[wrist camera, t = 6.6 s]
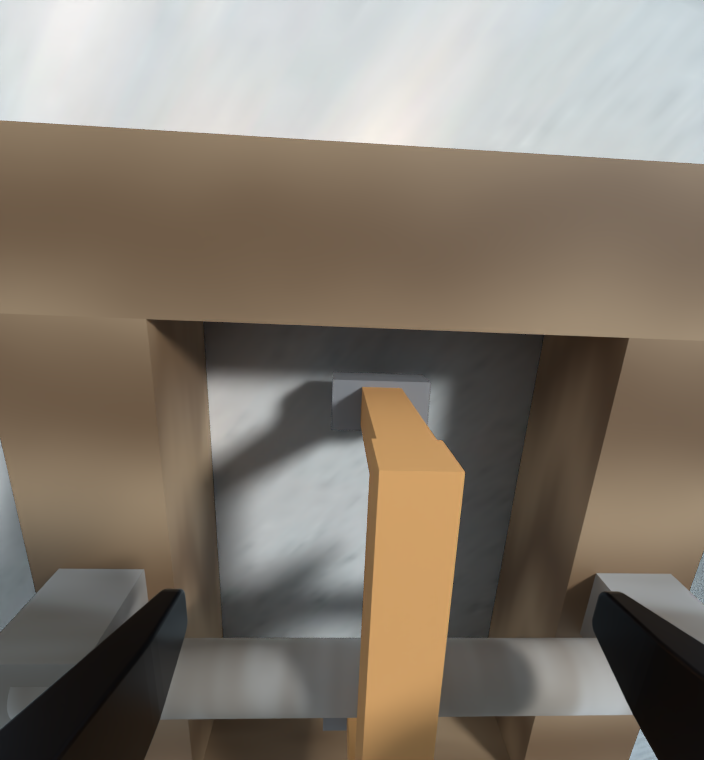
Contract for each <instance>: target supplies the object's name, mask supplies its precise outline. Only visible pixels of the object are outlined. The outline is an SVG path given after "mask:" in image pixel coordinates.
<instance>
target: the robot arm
mask: <svg viewBox="0 0 704 760" xmlns="http://www.w3.org/2000/svg"><path fill="white" fill-rule="evenodd" d="M187 623H188V617H187V607H186V596H185V592H184V590H183V589H163V590H162V591H160V592H159V593H158V594H157V595H155V596H154V597H153V598H152V599H151V600H150V601H148V602H147V603H146V604H145V605H144V606H143V607H141V608H140V609H139V610H138V611H137V612H136V613H134V614H133V615H132V616H131V617H130V618H129V619H127V620H126V621H125V622H124V623H123V624H122V625H121V626H119V627H118V628H117V629H116V630H115V631H114V632H112V633H111V634H110V635H109V636H108V637H107V638H105V639H104V640H103V641H102V642H101V643H100V644H98V645H97V646H96V647H95V648H94V649H93V650H91V651H90V652H89V653H88V654H87V655H86V656H85V657H83V658H82V659H81V660H80V661H79V662H78V663H76V664H75V665H74V666H73V667H72V668H71V669H69V670H68V671H67V672H66V673H65V674H64V675H62V676H61V677H60V678H59V679H58V680H57V681H55V682H54V683H53V684H52V685H51V686H50V687H49V688H47V689H46V690H45V691H44V692H43V693H42V694H40V695H39V696H38V697H37V698H36V699H35V700H33V701H32V702H31V703H30V704H29V705H28V706H26V707H25V708H24V709H23V710H22V711H21V712H20V713H18V714H17V715H16V716H15V717H14V718H13V719H11V720H10V721H9V722H8V723H7V724H6V725H4V726H3V727H2V728H1V729H0V760H144V759H145V757H146V754H147V752H148V749H149V747H150V744H151V742H152V739H153V737H154V734H155V731H156V729H157V726H158V723H159V720H160V718H161V714H162V711H163V708H164V705H165V702H166V698H167V695H168V691H169V688H170V685H171V681H172V678H173V674H174V671H175V668H176V664H177V661H178V657H179V654H180V651H181V647H182V644H183V640H184V637H185V634H186V629H187ZM592 627H593V631H594V634H595V636H596V638H597V640H598V642H599V644H600V647H601V649H602V651H603V653H604V655H605V657H606V659H607V661H608V664H609V666H610V668H611V670H612V672H613V674H614V676H615V678H616V681H617V683H618V685H619V687H620V689H621V691H622V693H623V696H624V698H625V700H626V702H627V704H628V706H629V708H630V710H631V712H632V714H633V716H634V718H635V719H636V721H637V723H638V725H639V727H640V729H641V730H642V732H643V734H644V736H645V737H646V739H647V741H648V743H649V745H650V746H651V748H652V750H653V752H654V753H655V755H656V757H657V759H658V760H704V644H703V643H701V642H700V641H698V640H697V639H695V638H693V637H692V636H690V635H689V634H687V633H686V632H684V631H682V630H681V629H679V628H678V627H676V626H675V625H673V624H671V623H670V622H668V621H667V620H665V619H664V618H662V617H660V616H659V615H657V614H656V613H654V612H653V611H651V610H649V609H648V608H646V607H645V606H643V605H642V604H640V603H638V602H637V601H635V600H634V599H632V598H630V597H629V596H627V595H626V594H624V593H622V592H618V591H603V592H601V593H600V594H599V596H598V599H597V603H596V606H595V610H594V613H593V617H592Z"/></svg>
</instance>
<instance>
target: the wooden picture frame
mask: <svg viewBox="0 0 704 760" xmlns="http://www.w3.org/2000/svg"><path fill="white" fill-rule="evenodd" d="M203 321H208V322H234V323H260V324H285V325H311V326H336V327H362V328H388V329H413V330H439V331H464V332H490V333H516V334H541V335H544V338H543V344H542V349H541V355H540V360H539V365H538V371H537V376H536V382H535V387H534V392H533V398H532V403H531V408H530V414H529V419H528V425H527V430H526V435H525V441H524V446H523V452H522V457H521V462H520V468H519V473H518V479H517V484H516V489H515V495H514V500H513V506H512V511H511V516H510V522H509V527H508V532H507V538H506V543H505V549H504V554H503V559H502V565H501V570H500V576H499V581H498V586H497V592H496V597H495V603H494V608H493V613H492V619H491V624H490V630H489V635H488V638H447V642H446V651H445V660H444V669H443V678H442V687H441V696H440V705H439V715H438V724H437V733H436V742H435V751H434V760H629V758H630V755H631V752H632V749H633V746H634V744H635V741H636V738H637V735H638V733H639V730H640V727H639V725H638V723H637V721H636V719H635V718H634V716H633V714H632V712H631V710H630V708H629V706H628V704H627V702H626V700H625V698H624V696H623V693H622V691H621V689H620V687H619V685H618V683H617V681H616V678H615V676H614V674H613V672H612V670H611V668H610V666H609V664H608V661H607V659H606V657H605V655H604V653H603V651H602V649H601V647H600V644H599V642H598V640H597V638H596V636H595V634H594V631H593V627H592V617H593V613H594V610H595V606H596V603H597V599H598V596H599V594H600V593H601V592H603V591H618V592H622V593H624V594H626V595H627V596H629V597H630V598H632V599H634V600H635V601H637V602H638V603H640V604H642V605H643V606H645V607H646V608H648V609H649V610H651V611H653V612H654V613H656V614H657V615H659V616H660V617H662V618H664V619H665V620H667V621H668V622H670V623H671V624H673V625H675V626H676V627H678V628H679V629H681V630H682V631H684V632H686V633H687V634H689V635H690V636H692V637H693V638H695V639H697V640H698V641H700V642H701V643H703V644H704V604H703V603H702V602H701V601H700V600H699V599H698V598H696V597H695V596H694V595H693V594H692V593H691V592H690V591H689V590H690V588H691V585H692V582H693V579H694V576H695V574H696V571H697V568H698V565H699V562H700V560H701V557H702V554H703V551H704V164H692V163H676V162H659V161H643V160H627V159H611V158H595V157H579V156H563V155H547V154H531V153H515V152H499V151H483V150H466V149H450V148H434V147H418V146H402V145H386V144H370V143H354V142H338V141H322V140H306V139H290V138H273V137H257V136H241V135H225V134H209V133H193V132H177V131H161V130H145V129H129V128H113V127H96V126H80V125H64V124H48V123H32V122H16V121H0V439H1V443H2V448H3V452H4V456H5V461H6V465H7V469H8V474H9V478H10V483H11V487H12V491H13V496H14V500H15V504H16V509H17V513H18V517H19V522H20V526H21V530H22V535H23V539H24V544H25V548H26V552H27V557H28V561H29V565H30V570H31V574H32V578H33V583H34V587H35V592H36V594H35V595H34V596H33V597H32V599H31V600H30V601H29V602H28V603H27V604H26V605H25V606H24V607H23V608H22V609H21V611H20V612H19V613H18V614H17V615H16V616H15V617H14V618H13V619H12V620H11V621H10V622H9V624H8V625H7V626H6V627H5V628H4V629H3V630H2V631H1V632H0V729H1V728H2V727H3V726H4V725H6V724H7V723H8V722H9V721H10V720H11V719H13V718H14V717H15V716H16V715H17V714H18V713H20V712H21V711H22V710H23V709H24V708H25V707H26V706H28V705H29V704H30V703H31V702H32V701H33V700H35V699H36V698H37V697H38V696H39V695H40V694H42V693H43V692H44V691H45V690H46V689H47V688H49V687H50V686H51V685H52V684H53V683H54V682H55V681H57V680H58V679H59V678H60V677H61V676H62V675H64V674H65V673H66V672H67V671H68V670H69V669H71V668H72V667H73V666H74V665H75V664H76V663H78V662H79V661H80V660H81V659H82V658H83V657H85V656H86V655H87V654H88V653H89V652H90V651H91V650H93V649H94V648H95V647H96V646H97V645H98V644H100V643H101V642H102V641H103V640H104V639H105V638H107V637H108V636H109V635H110V634H111V633H112V632H114V631H115V630H116V629H117V628H118V627H119V626H121V625H122V624H123V623H124V622H125V621H126V620H127V619H129V618H130V617H131V616H132V615H133V614H134V613H136V612H137V611H138V610H139V609H140V608H141V607H143V606H144V605H145V604H146V603H147V602H148V601H150V600H151V599H152V598H153V597H154V596H155V595H157V594H158V593H159V592H160V591H162V590H163V589H183V590H184V592H185V596H186V607H187V617H188V623H187V629H186V634H185V637H184V640H183V644H182V647H181V651H180V654H179V657H178V661H177V664H176V668H175V671H174V674H173V678H172V681H171V685H170V688H169V691H168V695H167V698H166V702H165V705H164V708H163V711H162V714H161V718H160V720H159V723H158V726H157V729H156V731H155V734H154V737H153V739H152V742H151V744H150V747H149V749H148V752H147V754H146V757H145V759H144V760H348V758H347V730H340V731H323V718H357V705H358V686H359V667H360V648H361V638H223V627H222V611H221V595H220V579H219V563H218V548H217V532H216V516H215V500H214V484H213V468H212V452H211V437H210V421H209V405H208V389H207V373H206V357H205V341H204V326H203Z"/></svg>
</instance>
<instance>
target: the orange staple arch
mask: <svg viewBox="0 0 704 760" xmlns="http://www.w3.org/2000/svg"><path fill="white" fill-rule="evenodd" d="M430 388H431V382H430V381H429V380H428V379H427V378H426V377H425V376H423V375H421V374H388V373H355V372H333V388H332V424H331V430H357V431H362V435H363V441H364V446H365V452H366V457H367V462H368V468H369V473H370V476H369V495H368V514H367V533H366V552H365V571H364V591H363V610H362V629H361V648H360V667H359V686H358V705H357V718H323V731H340V730H347V758H348V760H434V751H435V742H436V733H437V724H438V715H439V705H440V696H441V687H442V678H443V669H444V660H445V651H446V642H447V633H448V624H449V615H450V606H451V597H452V588H453V578H454V569H455V560H456V551H457V542H458V533H459V524H460V515H461V506H462V497H463V488H464V479H465V471H464V470H463V468H462V467H461V465H460V464H459V463H458V461H457V460H456V459H455V457H454V456H453V454H452V453H451V452H450V450H449V449H448V447H447V446H446V445H445V443H444V442H443V441H442V440H437V439H436V438H435V436H434V435H433V433H432V432H431V430H430V429H429V427H428V426H427V424H428V412H429V400H430Z"/></svg>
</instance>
